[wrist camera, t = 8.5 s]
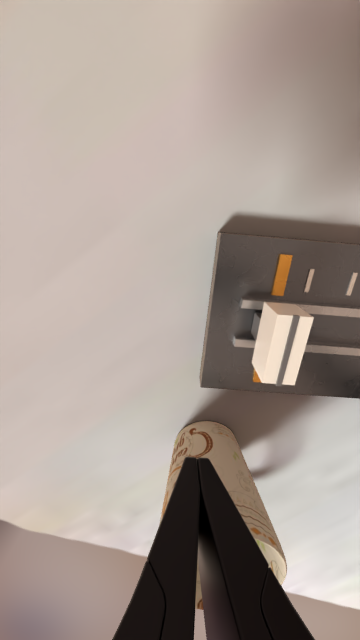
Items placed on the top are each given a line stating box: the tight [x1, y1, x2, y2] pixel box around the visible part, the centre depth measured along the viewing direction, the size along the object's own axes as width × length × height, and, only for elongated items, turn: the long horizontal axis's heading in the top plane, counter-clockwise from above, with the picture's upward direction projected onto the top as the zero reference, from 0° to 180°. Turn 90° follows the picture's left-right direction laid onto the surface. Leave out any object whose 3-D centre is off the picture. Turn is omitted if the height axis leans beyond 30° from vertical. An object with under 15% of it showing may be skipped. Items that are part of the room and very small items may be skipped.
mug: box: [159, 421, 287, 610], centre depth 21 cm, size 8×13×10 cm, turn 27°
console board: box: [200, 232, 360, 398], centre depth 19 cm, size 19×12×2 cm, turn 85°
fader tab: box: [251, 302, 314, 386], centre depth 17 cm, size 2×4×5 cm, turn 175°
